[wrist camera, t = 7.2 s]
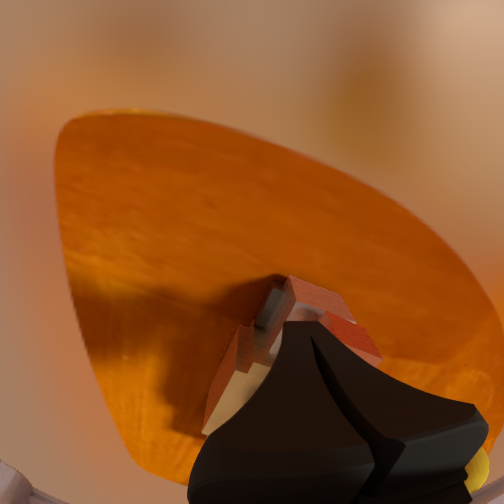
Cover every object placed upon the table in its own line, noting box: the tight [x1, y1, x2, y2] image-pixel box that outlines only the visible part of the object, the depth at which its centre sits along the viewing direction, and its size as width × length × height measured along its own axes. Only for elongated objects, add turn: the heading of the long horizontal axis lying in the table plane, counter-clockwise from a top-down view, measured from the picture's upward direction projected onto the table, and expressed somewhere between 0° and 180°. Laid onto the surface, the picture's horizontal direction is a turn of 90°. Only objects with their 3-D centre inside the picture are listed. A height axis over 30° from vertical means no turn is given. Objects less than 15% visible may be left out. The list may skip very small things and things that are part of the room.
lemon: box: [464, 447, 489, 493], centre depth 19 cm, size 6×6×8 cm
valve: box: [201, 275, 356, 441], centre depth 16 cm, size 6×14×5 cm, turn 157°
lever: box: [319, 311, 383, 368], centre depth 12 cm, size 8×2×2 cm, turn 153°
